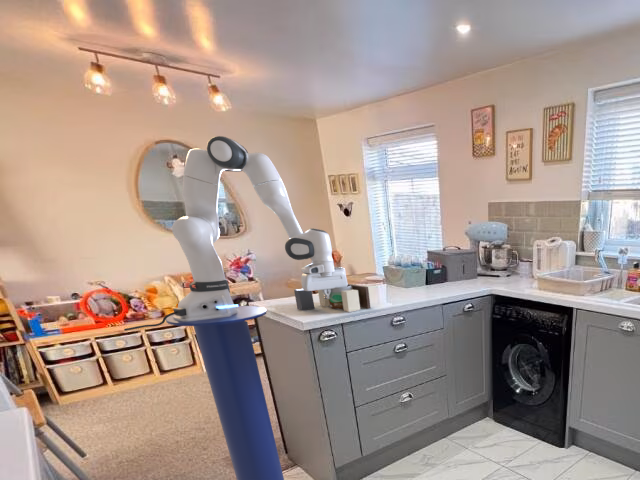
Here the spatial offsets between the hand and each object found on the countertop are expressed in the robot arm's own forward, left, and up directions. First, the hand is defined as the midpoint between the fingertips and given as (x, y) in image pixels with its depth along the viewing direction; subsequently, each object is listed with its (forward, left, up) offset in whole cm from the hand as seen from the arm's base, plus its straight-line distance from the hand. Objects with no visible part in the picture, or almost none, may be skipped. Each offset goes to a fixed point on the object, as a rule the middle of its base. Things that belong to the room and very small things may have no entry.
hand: (327, 299), depth 187 cm
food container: (+6, -1, -5) cm, 8 cm away
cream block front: (+6, -9, -5) cm, 12 cm away
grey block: (-5, +11, -5) cm, 13 cm away
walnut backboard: (+13, +1, -5) cm, 14 cm away
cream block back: (+6, +10, -5) cm, 13 cm away
